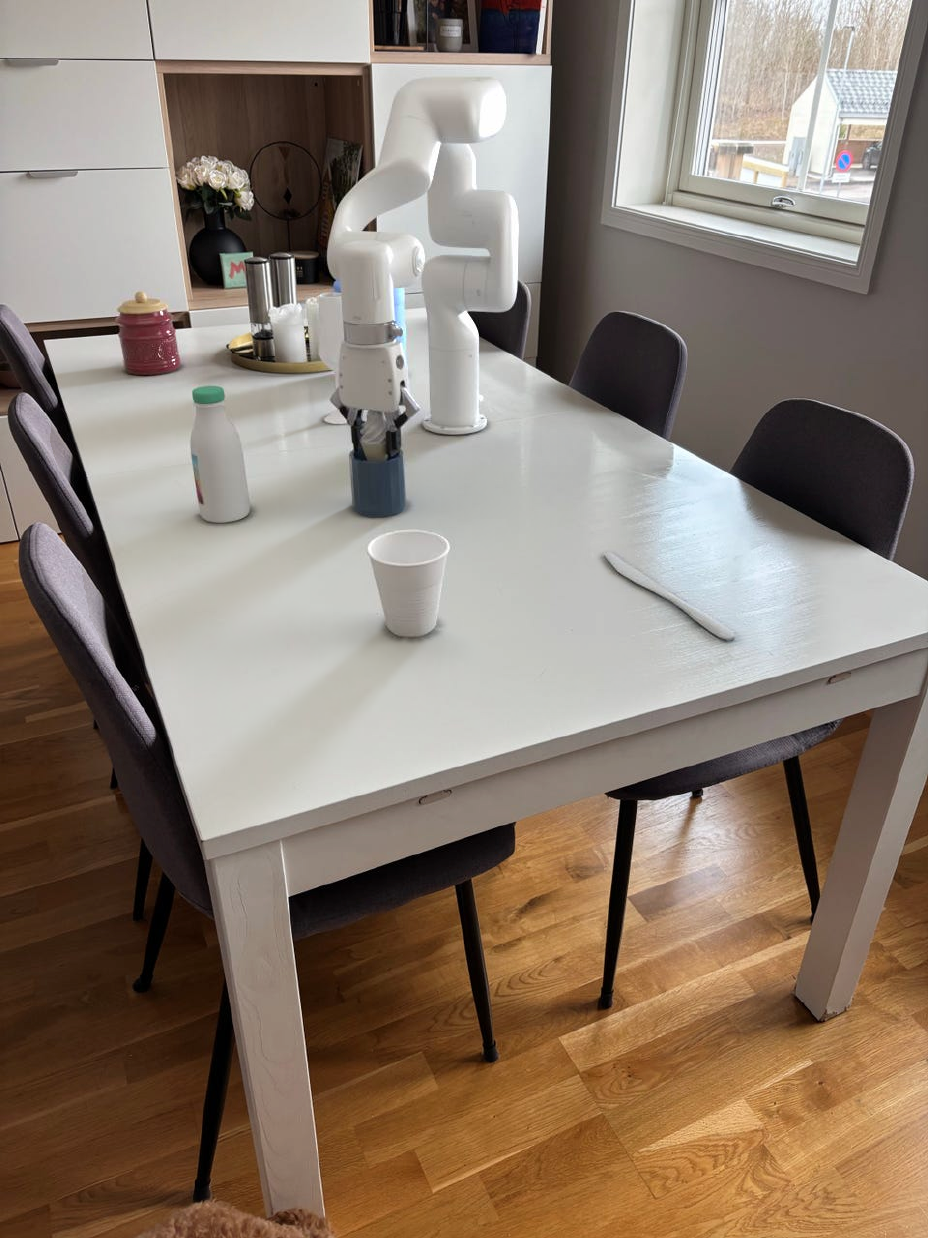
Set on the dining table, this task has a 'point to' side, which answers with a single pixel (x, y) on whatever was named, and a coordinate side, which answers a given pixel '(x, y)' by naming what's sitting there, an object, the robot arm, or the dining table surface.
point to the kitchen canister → (147, 336)
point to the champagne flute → (331, 340)
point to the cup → (409, 578)
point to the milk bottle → (217, 459)
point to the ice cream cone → (374, 437)
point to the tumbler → (377, 485)
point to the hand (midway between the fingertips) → (376, 449)
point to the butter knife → (670, 597)
